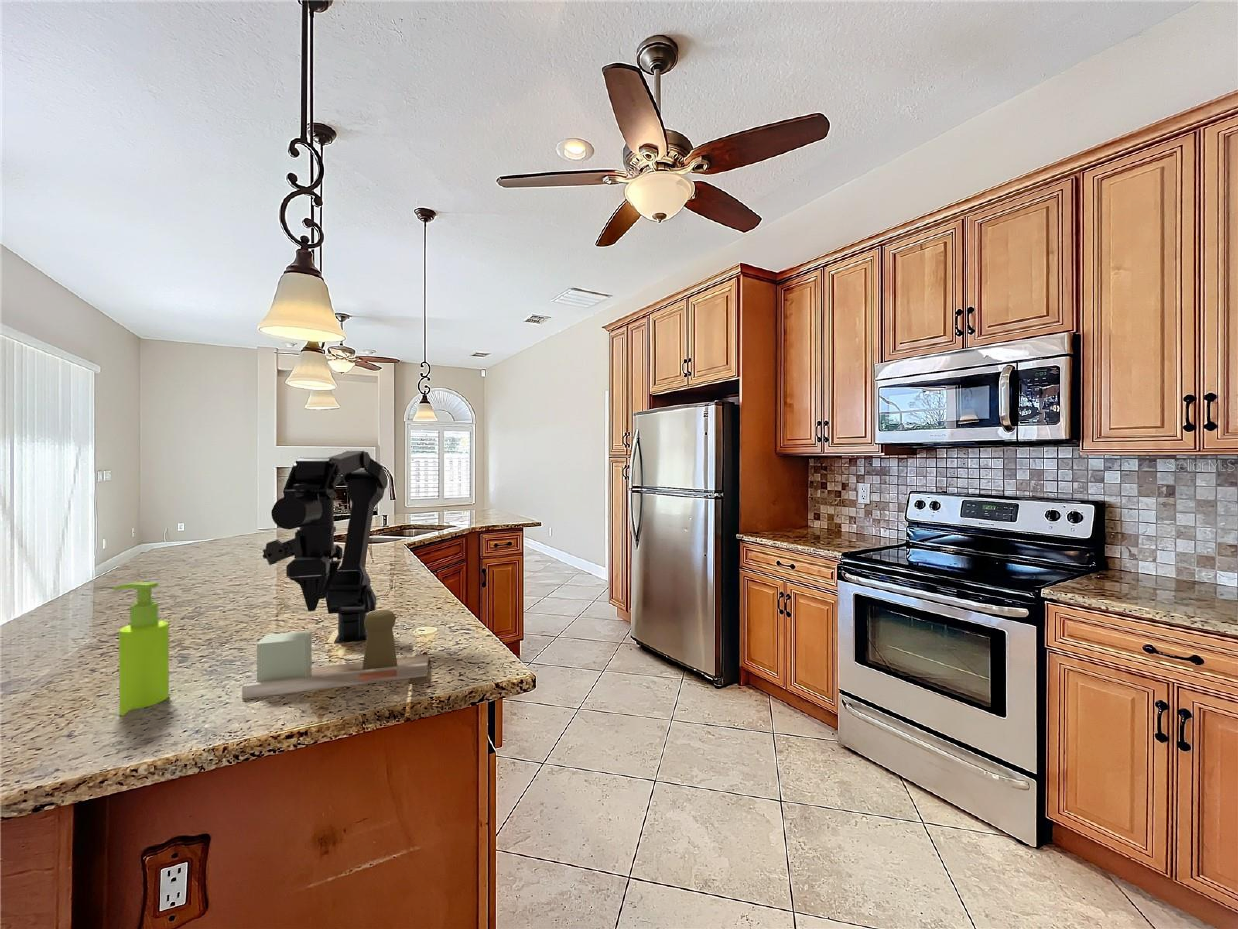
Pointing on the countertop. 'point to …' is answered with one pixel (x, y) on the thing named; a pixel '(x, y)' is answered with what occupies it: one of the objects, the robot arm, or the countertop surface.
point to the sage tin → (284, 656)
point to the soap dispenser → (143, 653)
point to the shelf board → (342, 677)
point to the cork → (379, 640)
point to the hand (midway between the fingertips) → (317, 604)
